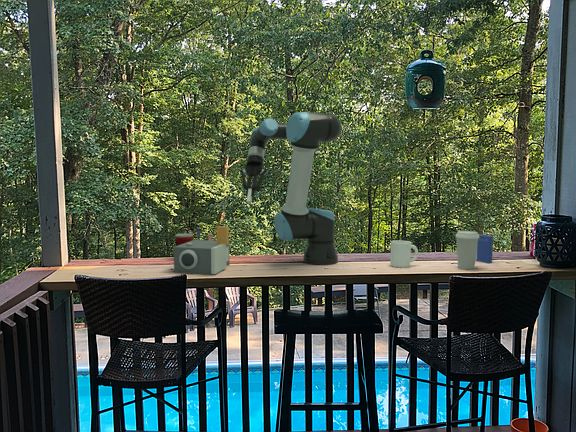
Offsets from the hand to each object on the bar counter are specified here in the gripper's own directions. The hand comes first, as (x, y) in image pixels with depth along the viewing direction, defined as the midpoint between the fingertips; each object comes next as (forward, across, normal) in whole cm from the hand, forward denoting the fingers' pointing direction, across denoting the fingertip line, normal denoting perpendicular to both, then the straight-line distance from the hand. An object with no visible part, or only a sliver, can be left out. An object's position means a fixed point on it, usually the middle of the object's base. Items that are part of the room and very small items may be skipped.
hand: (248, 202), depth 251 cm
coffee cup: (+23, -94, -12) cm, 97 cm away
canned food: (+26, +28, -6) cm, 38 cm away
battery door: (+38, +4, +14) cm, 41 cm away
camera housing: (+36, +12, +9) cm, 39 cm away
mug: (+24, -69, -11) cm, 73 cm away
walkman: (+14, -102, -26) cm, 107 cm away
